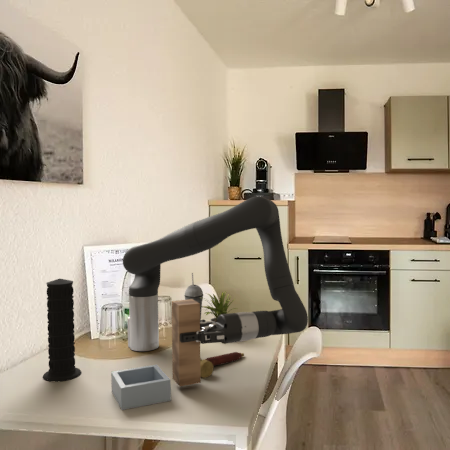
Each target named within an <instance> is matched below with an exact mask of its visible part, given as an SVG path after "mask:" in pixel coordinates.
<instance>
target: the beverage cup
mask: <svg viewBox="0 0 450 450" xmlns="http://www.w3.org/2000/svg"><path fill="white" fill-rule="evenodd" d="M194 283H195V282H194V272H191V285H189V286H187V287H186V289H185V291H184V300H188V299H193V300H195V301H197V302H198V303H200V320H202V310H203V309H202V308H203V307H201V306H203V301H204V292H203V289H202V288H201V287H200V286H199V285H197V284H194Z"/></svg>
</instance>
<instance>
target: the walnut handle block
mask: <svg viewBox="0 0 450 450" xmlns="http://www.w3.org/2000/svg"><path fill="white" fill-rule="evenodd" d="M199 330H200V303H198V302H197V301H195V300H193V299H188V300H185V299H181V300H179V299H178V300H172V301H171V348H172V349H171V351H172V352H171V353H172V354H171V356H172V357H171V359H172V363H171V364H172V365H171V367H172V380H173V381H174V382H175V383H176V384H177V386H179V387H184V386H188V385H189V386H190V385H193V384H194V385H195V384H200V383H202V382H201V379H202V378H201V377H200V359H201V343H200V342H195V341H191V342H184V343H181V342H180V334H181V333H186V332H195V331H199Z"/></svg>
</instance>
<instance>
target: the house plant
mask: <svg viewBox="0 0 450 450" xmlns="http://www.w3.org/2000/svg"><path fill="white" fill-rule="evenodd" d="M205 294H207V295H208V296H209V297H210V298H211V299H210V302H211V303H209V300H206V298H204V297H203V300H206V302H207V303H209V305H208V304H206V306H205V305H202V306H201V307H202V308H203V309H204V308H205V311H206V312H205V311H204V313H203V315H205V316H208V315H209V314H211V315H213V316H214V317H212V318H210V320H209V321H212V322H214V323H215V322H216V321H217V318H218V316H219V315H221V314H228V312H227V311H228V308H229V307H230V306H231V304H232V303H233V302H234V301H235V300H236V298H234V299H233V300H232V301H231V298H232V295H230V294H229V293H228V294H227V291H222V292H221V294H220V297H219V299H218V298H217V296H216V295H215V294H214V293H213V294H212V295H213V296H212V295H211V294H209V293H207V292H206V293H205ZM226 294H227V296H226ZM229 295H230V296H229ZM208 310H210V311H208ZM232 310H238V308H237V307H235V308H234V307H233V308H232V309H230V311H232Z"/></svg>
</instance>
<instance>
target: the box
mask: <svg viewBox="0 0 450 450" xmlns="http://www.w3.org/2000/svg"><path fill="white" fill-rule="evenodd" d="M110 373H111V374H110V376H111V380H110V381H111V393H112V395H113V397H114V398H115V400H116V403H117V404H118V406H119V408H120V409H121V410H120V411H124V410H128V409H133V408H140V407H145V406H149V405H150V406H151V405H155V404H160V403H165V402H170V401H172V389H171V388H172V387H171V385H172V384H171V383H172V382H171V381H172V380H171V378H170V377H169V376H168V375H167V374H166V373H165V372H164V371H163V369H162V368H161V367H160V366H159V365H158V364H153V365H152V364H151V365H144V366H139V367H138V366H137V367H133V368H132V367H131V368H126V369H119V370H118V369H117V370H114V371H111V372H110Z"/></svg>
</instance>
